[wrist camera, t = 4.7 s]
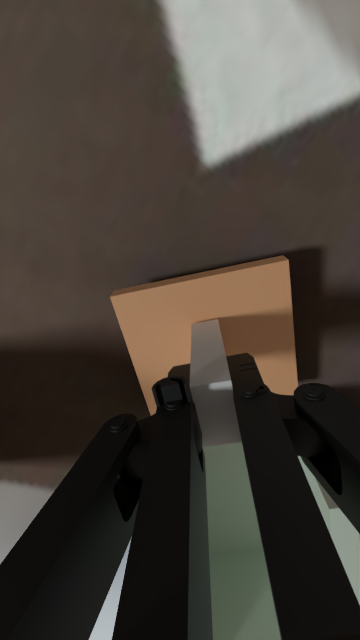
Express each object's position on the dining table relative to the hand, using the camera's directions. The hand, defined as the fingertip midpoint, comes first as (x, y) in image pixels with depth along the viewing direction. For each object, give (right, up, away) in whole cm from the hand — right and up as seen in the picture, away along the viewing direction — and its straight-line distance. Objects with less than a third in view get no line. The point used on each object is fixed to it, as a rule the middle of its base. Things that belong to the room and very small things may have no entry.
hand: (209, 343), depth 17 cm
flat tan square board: (+1, -4, +3) cm, 5 cm away
